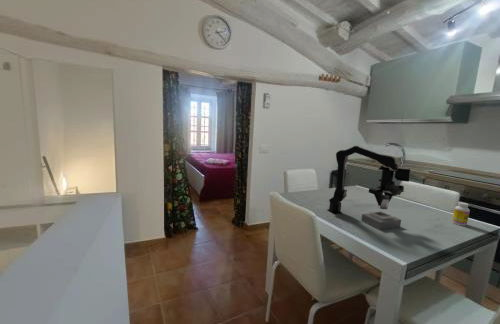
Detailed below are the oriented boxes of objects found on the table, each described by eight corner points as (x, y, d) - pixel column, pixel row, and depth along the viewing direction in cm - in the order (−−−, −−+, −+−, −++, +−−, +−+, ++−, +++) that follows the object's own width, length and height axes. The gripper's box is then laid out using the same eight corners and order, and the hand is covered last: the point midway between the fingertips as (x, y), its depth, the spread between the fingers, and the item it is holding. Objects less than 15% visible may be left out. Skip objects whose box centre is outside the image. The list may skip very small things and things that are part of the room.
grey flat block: (379, 229, 123) (380, 219, 122) (361, 220, 134) (362, 211, 133) (400, 226, 129) (401, 217, 128) (381, 218, 140) (382, 209, 139)
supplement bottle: (463, 226, 133) (468, 205, 131) (449, 222, 139) (453, 202, 137) (468, 225, 136) (473, 204, 134) (454, 220, 142) (458, 200, 140)
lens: (383, 209, 127) (385, 197, 126) (375, 206, 132) (377, 194, 130) (389, 209, 129) (391, 197, 128) (381, 206, 133) (383, 194, 132)
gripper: (387, 182, 117) (383, 211, 119) (412, 181, 123) (408, 209, 126) (369, 177, 127) (366, 204, 129) (393, 176, 134) (389, 202, 136)
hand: (382, 205), depth 130 cm, fingers closed on lens, 5 cm apart
